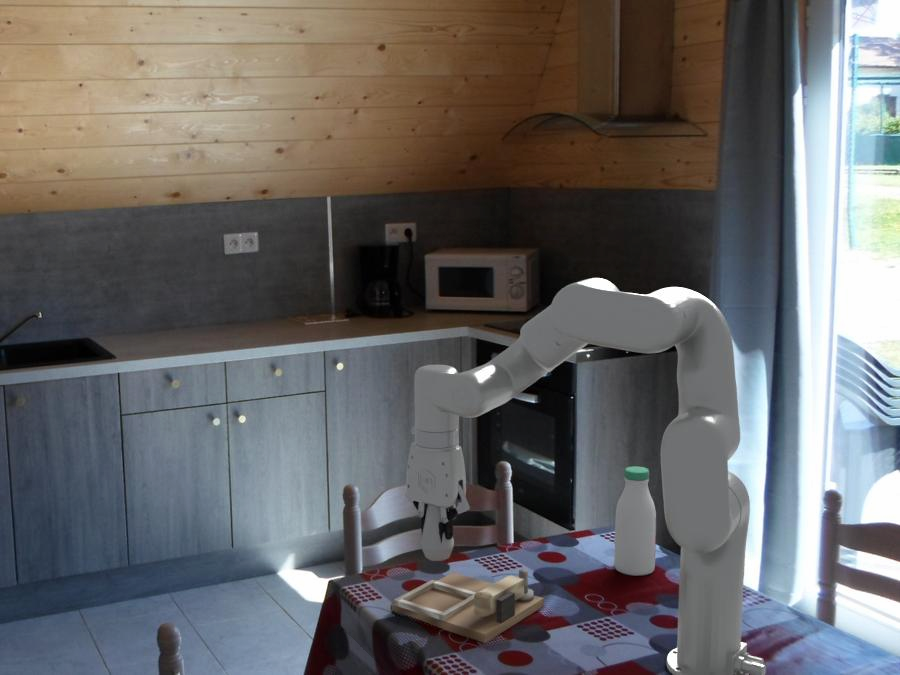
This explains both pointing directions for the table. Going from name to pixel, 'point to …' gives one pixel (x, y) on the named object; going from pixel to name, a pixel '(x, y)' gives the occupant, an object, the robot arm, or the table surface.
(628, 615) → the table surface
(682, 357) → the robot arm
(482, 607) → the leg
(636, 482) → the milk bottle
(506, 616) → the wooden activity board
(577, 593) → the table surface
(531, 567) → the table surface
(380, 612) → the table surface
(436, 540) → the salt shaker
